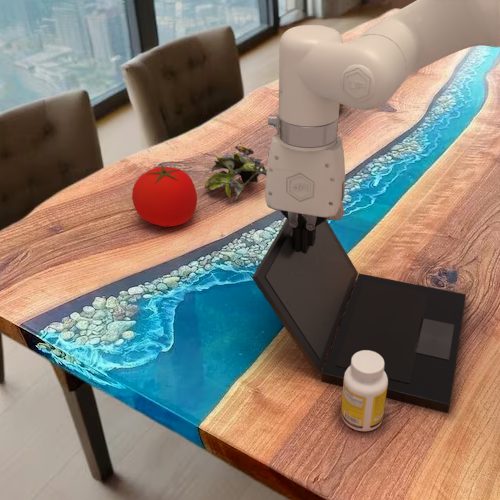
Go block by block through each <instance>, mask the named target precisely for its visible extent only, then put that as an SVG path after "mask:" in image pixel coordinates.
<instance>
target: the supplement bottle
mask: <svg viewBox="0 0 500 500" xmlns="http://www.w3.org/2000/svg"><path fill="white" fill-rule="evenodd" d="M387 386H388V378H387V375H386V373H385V371H384V360H383V358H382V357H381V356H380V355H379V354H378V353H376V352H373V351H369V350H363V351H359V352H357V353H355V354H354V355H353V357H352V359H351V366H349V367H348V368H347V370H346V372H345V374H344V382H343V386H342V395H341V408H340V409H341V410H340V414H341V418H342V420H343V422H344V423H345V425H346V426H348V427H349V428H351V429H353V430H355V431H359V432H370V431H374V430H376V429H377V428H379V427H380V426H381V424H382V422H383V420H384V414H385V407H386V398H387V397H386V393H387Z"/></svg>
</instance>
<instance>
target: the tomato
mask: <svg viewBox="0 0 500 500" xmlns="http://www.w3.org/2000/svg"><path fill="white" fill-rule="evenodd" d="M131 199H132V204H133V207H134V208H135V209H134V210H136V211H135V212H136V213H137V214H138V215H139V217H141V219H143V220H144V221H146V222H148V223H150V224H153V225H155V226H159V227H165V228H167V227H169V228H171V227H177V226H180V225H183V224H185V223H186V222H188V221H189V220H190V219H191V218H192V217H193V215H194V214H195V211H196V208H197V203H198V194H197V190H196V187H195V184H194V181H193V178H191V176H190V175H189V174H188V173H187V172H186V171H183V170H182V169H181V168H177V167H171V166H163V165H161V166H158V167H154V168H151V169H150V170H148V171H146V172H144V173H142V174H141V175H140V176H139V177H138V178H137V179H136V181H135V182H134V184H133V187H132V193H131Z"/></svg>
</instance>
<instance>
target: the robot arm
mask: <svg viewBox="0 0 500 500" xmlns="http://www.w3.org/2000/svg"><path fill="white" fill-rule="evenodd" d="M478 46H479V47H480V46H481V47H482V46H484V47H490V48H500V0H414V1H412V2H411V3H409V4H408V5H406V6H404V7H402V8H400V9H399V10H397V11H395V12H393V13H391V14H390V15H388V16H387V17H385V18H383V19H381V20H379V21H378V22H376V23H375V24H373V25H371V26H370V27H368V28H367V29H366V30H365V31H363V33H361V34H360V35H359V36H358V37H356V38H355V39H351V40H349V41H344V39H343V37H342V35H341V33H340V32H339V31H338V30H337V29H335V28H332V27H330V26H326V25H321V24H320V25H319V24H302V25H296V26H294V27H290V28H289V29H287V30H286V31H284V33H283V34H282V35H281V37H280V40H279V49H278V50H279V51H278V52H279V53H278V113H277V114H275V115H274V114H269V115H268V117H267V118H268V119H267V125H268V126H272V127H274V128H276V133H275V134H274V135H273V136H272V137H271V141H270V146H269V152H268V157H267V158H268V159H267V165H266V170H267V174H266V176H265V189H264V191H265V192H264V193H265V194H264V195H265V196H264V197H265V203H266V207H267V208H270V209H272V210H274V211H277V212H280V213H281V214H282V215H283V216H284V218H285V219H288V220H289V224H290V226H291V227H293V229H292V242H293V243H295V252H302V253H305V254H306V253H307V251H308V249H309V247H310V246H314V243H315V238H316V226H318V225H319V224H321V223H322V222H324V221H325V220H327V221H340V220H342V219H343V217H344V215H345V209H344V205H343V204H344V203H343V201H344V200H345V199H344V198H345V192H346V164H345V150H344V143H343V139H342V137H341V136H339V135H338V133H339V120H340V119H339V118H340V111H339V105H340V104H342V105H343V106H345V107H348V108H351V109H354V110H360V111H370V110H375V109H379V108H380V107H382V106H384V105H385V104H386V103H388V102H389V100H390V99H391V98H392V97H393V96H394V95H395V93H396V92H397V91H398V90H399V88H400V87H401V86H402V85H403V84H404V82H405V81H406V80H407V79H408V78H409V76H411V75H413V74H414V73H416V72H418V71H419V70H422V69H424V68H426V67H427V66H430V65H432V64H434V63H436V62H438V61H440V60H442V59H445V58H446V57H448V56H451V55H453V54H456V53H458V52H460V51H463V50H466V49H469V48H473V47H478ZM303 214H305V215H308V219H307V220H306V218H304V217H303Z"/></svg>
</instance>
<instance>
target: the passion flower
mask: <svg viewBox="0 0 500 500" xmlns="http://www.w3.org/2000/svg"><path fill="white" fill-rule="evenodd" d="M234 148H235V150H237V151H238V152H236V151H233V152H232V153H228V152H226V154H224V156H222V157H221V156H219V155H217V156H216V159H214V161H213V162H214V163H215V164H214V165H213V166H212V167H211V172H212V173H213V172H214V171H217V170H221V169H225V170H228V172H227V171H225V170H221V171H219V172H216V173H214V174H212V175H211V176H210V177H209V178H208V179H207V181H206V182H205V183H204V188H205V189H206V190H207V189H208V190H209V192H211V191H214V190H217V189H219V188H221V187H224V186H225V188H224V189H225V194H226V196H227V197H228V199H231V197H232V195H231V190H232V187H234V192H235V199H234V201H233V203H236V201H237V199H239V195H240V194H241V192H242V191H244V190H245V188H246V185H248V184H249V183H256V184H257V183H258V182H259V179H258V177H259V176H260V175H262V176H265V177H266V174H267V169H266V167H265V165H264V163H262V162H261V161H262V159H261V158H255V156H251V155H254V153H255V152H254V150H253V149H252V148H247V147H246V146H244V145H243V146H242V145H241V146H239V145H238V146H237V145H235V146H234ZM242 153H243V154H242ZM249 156H250V157H249ZM236 176H238V181H237V180H236V178H235V177H236ZM241 181H242V184H241Z"/></svg>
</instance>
